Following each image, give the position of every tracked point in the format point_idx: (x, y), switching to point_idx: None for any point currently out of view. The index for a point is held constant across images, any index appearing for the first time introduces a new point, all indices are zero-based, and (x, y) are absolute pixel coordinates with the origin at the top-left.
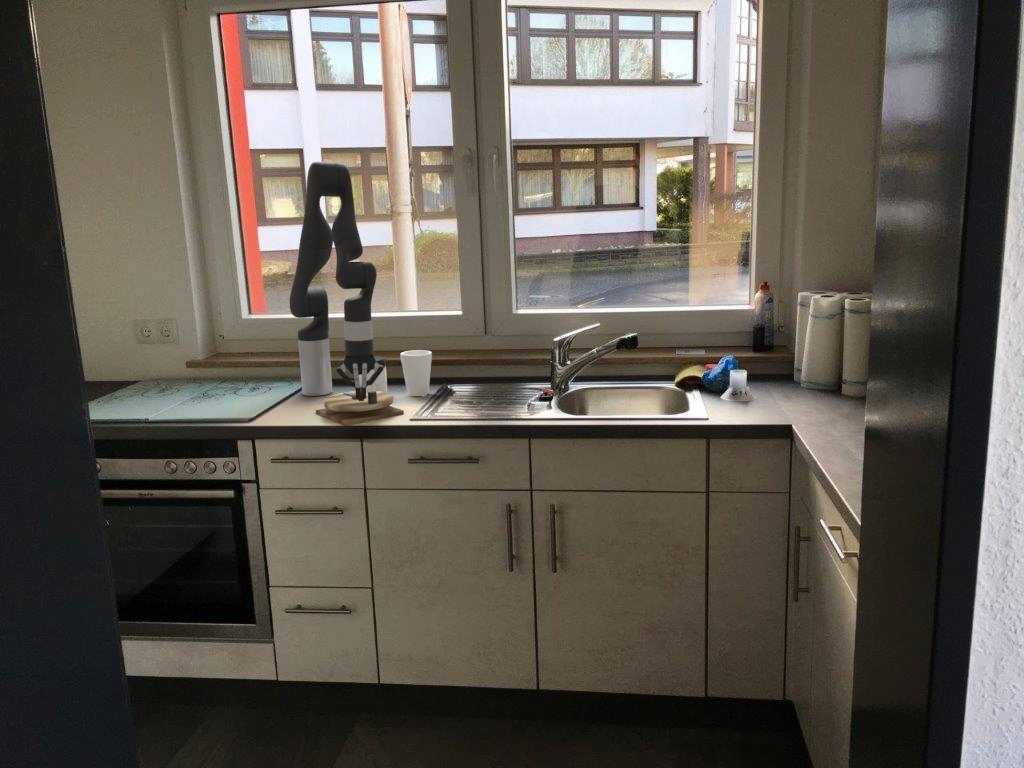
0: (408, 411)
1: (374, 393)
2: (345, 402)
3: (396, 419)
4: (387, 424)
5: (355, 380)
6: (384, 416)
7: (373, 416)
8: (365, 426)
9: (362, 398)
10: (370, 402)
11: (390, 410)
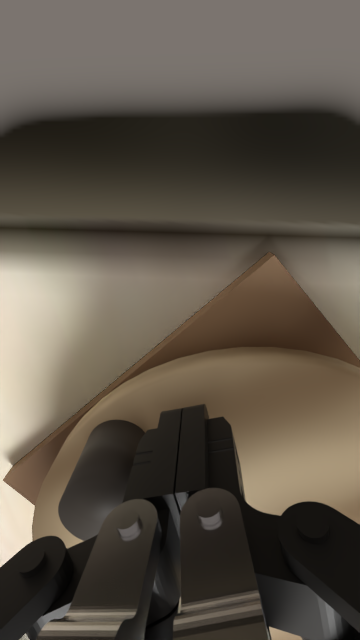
0: (8, 505)
1: (69, 487)
2: (322, 468)
3: (12, 373)
4: (24, 272)
5: (244, 592)
6: (83, 408)
7: (128, 376)
8: (141, 230)
9: (169, 417)
10: (123, 426)
11: None
